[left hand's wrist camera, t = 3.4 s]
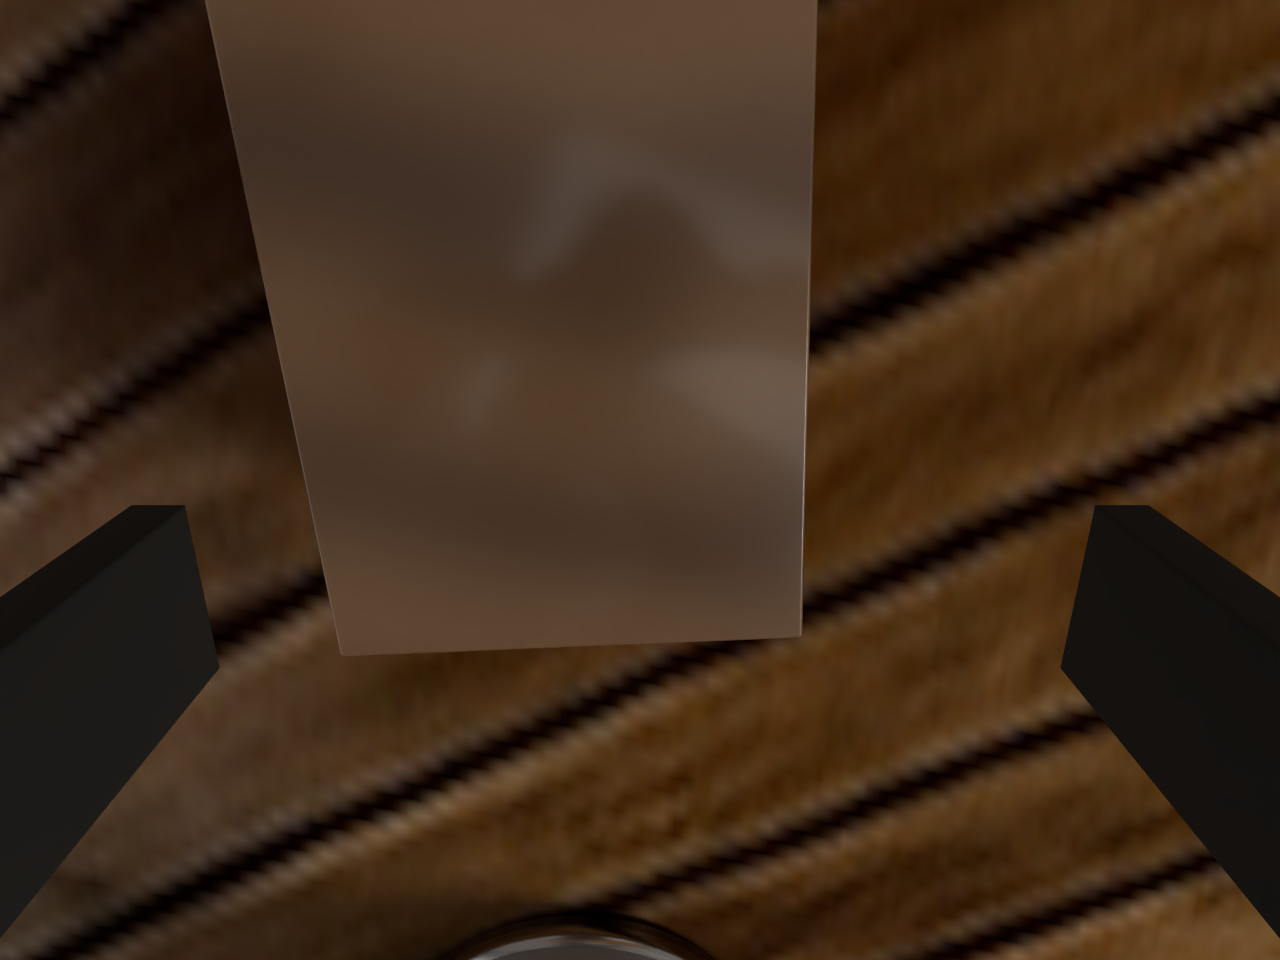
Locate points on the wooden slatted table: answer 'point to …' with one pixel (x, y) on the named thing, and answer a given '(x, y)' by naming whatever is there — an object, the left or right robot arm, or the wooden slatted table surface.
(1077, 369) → the wooden slatted table surface
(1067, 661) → the left robot arm
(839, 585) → the wooden slatted table surface
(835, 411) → the wooden slatted table surface
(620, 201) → the cabinet
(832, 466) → the wooden slatted table surface
